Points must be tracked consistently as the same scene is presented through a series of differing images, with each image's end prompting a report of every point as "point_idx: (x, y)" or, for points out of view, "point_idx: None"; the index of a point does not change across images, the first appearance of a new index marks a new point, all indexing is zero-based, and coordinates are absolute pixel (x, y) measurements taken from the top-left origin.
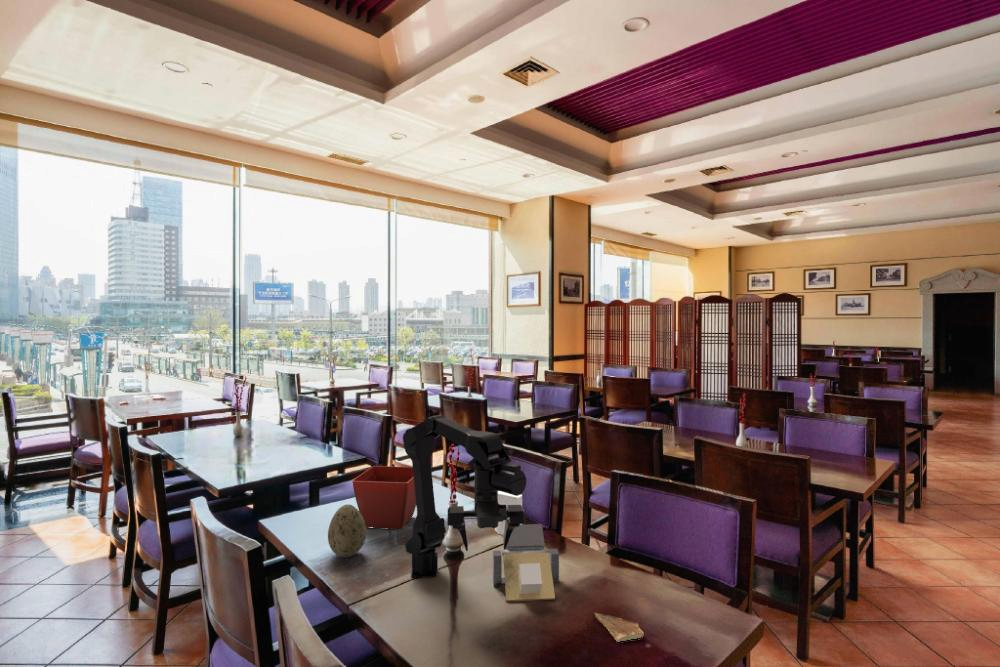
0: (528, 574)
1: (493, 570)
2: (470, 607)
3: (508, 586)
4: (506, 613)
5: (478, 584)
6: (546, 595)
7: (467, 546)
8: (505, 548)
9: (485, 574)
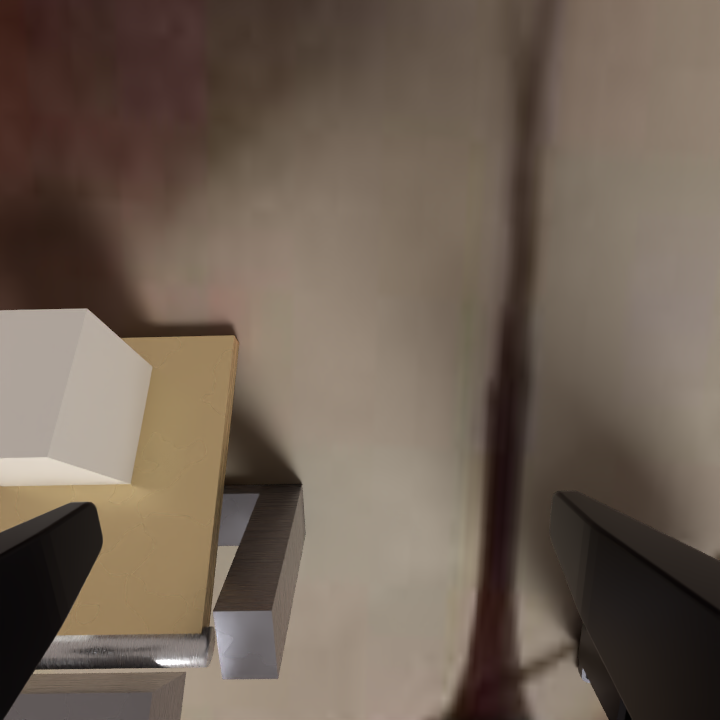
0: (10, 373)
1: (293, 554)
2: (427, 299)
3: (209, 405)
4: (237, 229)
5: (378, 508)
6: None
7: (588, 518)
8: (63, 507)
9: (341, 592)
